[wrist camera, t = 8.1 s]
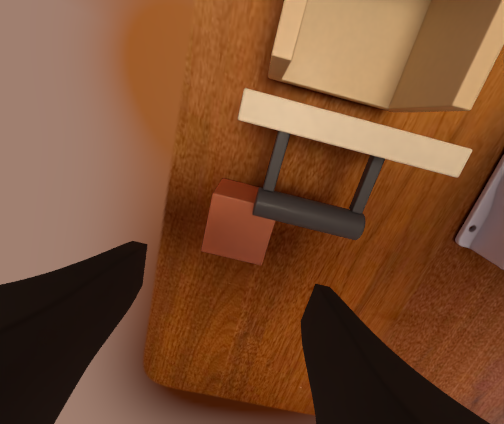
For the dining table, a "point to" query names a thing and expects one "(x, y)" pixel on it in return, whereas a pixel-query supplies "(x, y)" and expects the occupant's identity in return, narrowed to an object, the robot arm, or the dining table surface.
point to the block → (236, 224)
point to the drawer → (371, 89)
